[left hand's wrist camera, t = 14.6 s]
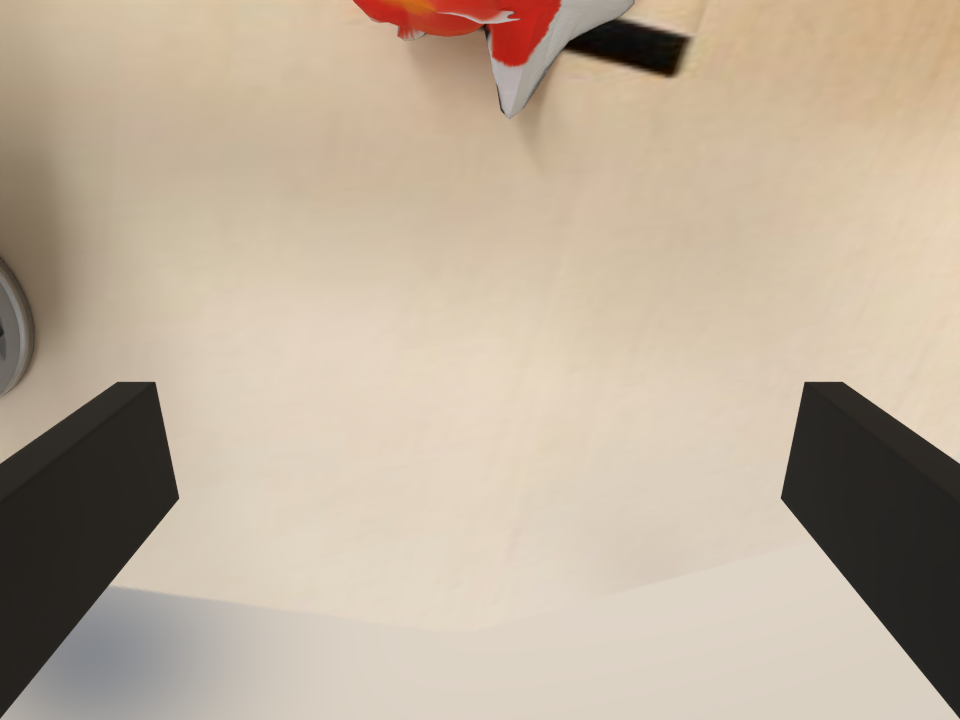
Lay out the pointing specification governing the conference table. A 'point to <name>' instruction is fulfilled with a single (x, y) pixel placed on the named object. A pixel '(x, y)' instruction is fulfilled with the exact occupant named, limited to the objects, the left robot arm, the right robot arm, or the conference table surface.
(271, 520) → the conference table surface
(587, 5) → the fish
